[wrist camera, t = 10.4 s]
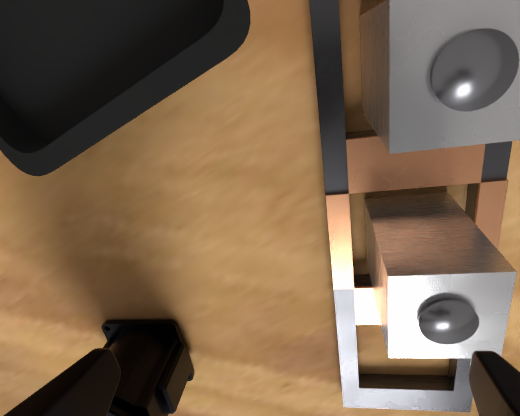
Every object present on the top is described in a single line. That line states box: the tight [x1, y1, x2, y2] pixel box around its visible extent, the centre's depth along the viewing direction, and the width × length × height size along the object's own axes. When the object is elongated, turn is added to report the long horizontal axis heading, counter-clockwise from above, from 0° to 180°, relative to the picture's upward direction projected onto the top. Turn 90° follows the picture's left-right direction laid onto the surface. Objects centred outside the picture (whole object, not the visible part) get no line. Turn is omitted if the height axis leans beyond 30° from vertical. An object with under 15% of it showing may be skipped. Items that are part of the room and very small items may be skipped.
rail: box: [309, 0, 512, 412], centre depth 20 cm, size 30×9×1 cm, turn 9°
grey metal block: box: [359, 0, 520, 154], centre depth 13 cm, size 4×4×8 cm
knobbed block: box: [364, 192, 517, 358], centre depth 17 cm, size 4×4×8 cm
